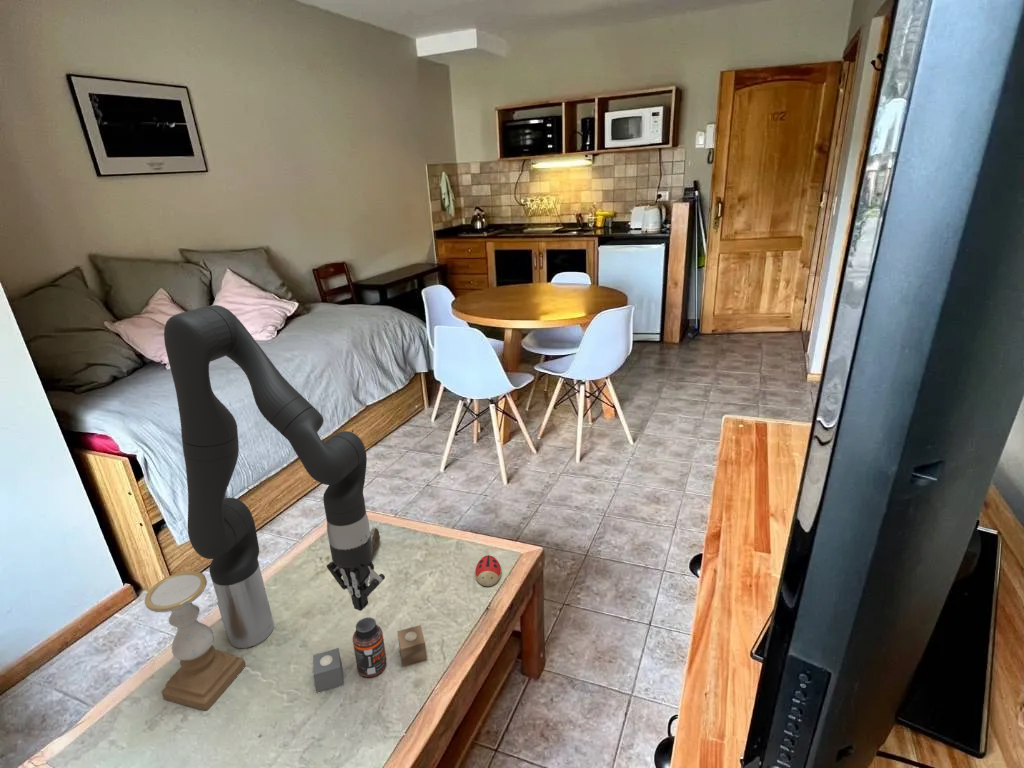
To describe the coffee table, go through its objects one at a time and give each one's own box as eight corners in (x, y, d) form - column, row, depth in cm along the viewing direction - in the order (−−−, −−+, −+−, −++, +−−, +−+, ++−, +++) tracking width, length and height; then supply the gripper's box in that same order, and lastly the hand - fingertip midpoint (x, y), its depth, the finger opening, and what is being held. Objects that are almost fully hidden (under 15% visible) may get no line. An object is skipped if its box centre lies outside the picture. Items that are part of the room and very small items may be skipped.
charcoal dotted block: (317, 693, 107) (313, 674, 105) (317, 673, 112) (312, 654, 110) (343, 685, 109) (339, 666, 107) (342, 665, 113) (338, 647, 111)
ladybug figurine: (475, 589, 133) (474, 577, 132) (475, 562, 142) (474, 551, 141) (502, 587, 133) (501, 575, 132) (500, 560, 143) (500, 549, 141)
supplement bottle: (379, 681, 109) (372, 638, 105) (352, 676, 111) (344, 634, 107) (391, 656, 115) (385, 615, 111) (365, 652, 116) (358, 611, 112)
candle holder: (247, 664, 114) (221, 573, 105) (207, 711, 104) (175, 615, 96) (204, 654, 117) (176, 565, 108) (161, 699, 107) (126, 604, 98)
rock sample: (344, 531, 150) (362, 518, 145) (368, 539, 154) (386, 527, 150) (338, 567, 143) (357, 555, 138) (363, 574, 147) (382, 563, 142)
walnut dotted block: (403, 667, 112) (400, 648, 110) (399, 649, 117) (397, 630, 115) (427, 660, 114) (424, 641, 112) (422, 642, 118) (420, 624, 116)
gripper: (308, 537, 101) (322, 609, 107) (363, 556, 95) (375, 631, 102) (336, 515, 107) (348, 585, 113) (390, 532, 102) (399, 604, 108)
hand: (361, 607), depth 108 cm, fingers closed
